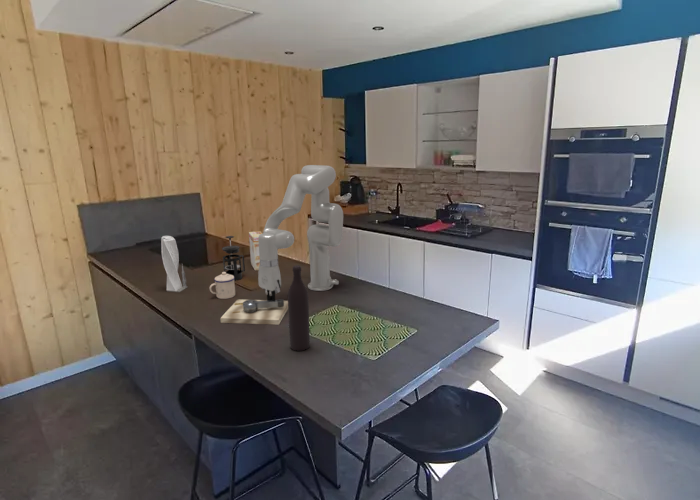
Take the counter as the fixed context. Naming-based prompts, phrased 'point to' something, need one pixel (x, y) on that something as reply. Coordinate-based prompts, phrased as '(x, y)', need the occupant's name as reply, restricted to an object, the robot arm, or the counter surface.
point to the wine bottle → (298, 312)
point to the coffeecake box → (254, 249)
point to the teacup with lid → (224, 286)
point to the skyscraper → (172, 264)
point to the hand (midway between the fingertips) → (271, 303)
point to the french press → (233, 268)
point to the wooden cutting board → (254, 314)
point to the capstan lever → (260, 304)
